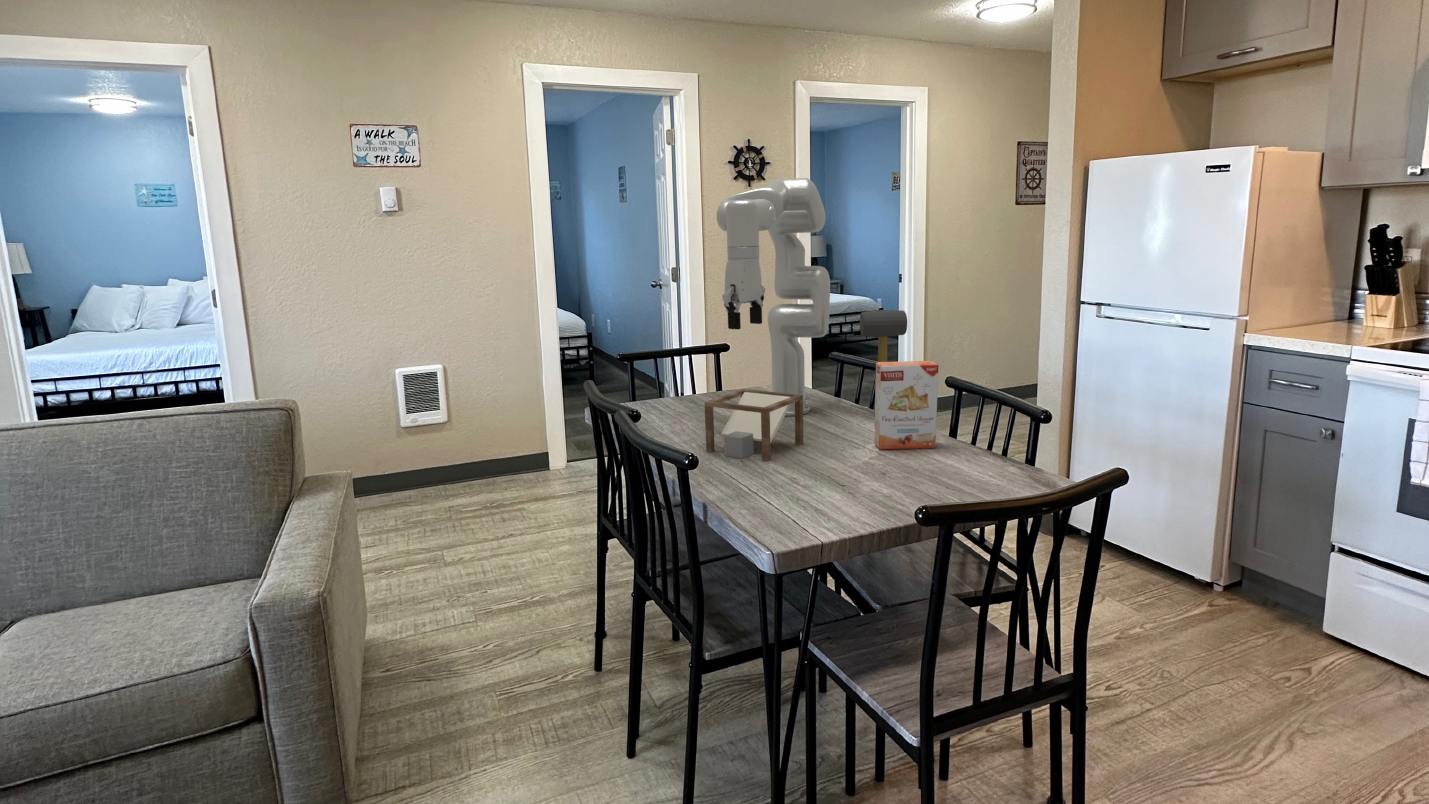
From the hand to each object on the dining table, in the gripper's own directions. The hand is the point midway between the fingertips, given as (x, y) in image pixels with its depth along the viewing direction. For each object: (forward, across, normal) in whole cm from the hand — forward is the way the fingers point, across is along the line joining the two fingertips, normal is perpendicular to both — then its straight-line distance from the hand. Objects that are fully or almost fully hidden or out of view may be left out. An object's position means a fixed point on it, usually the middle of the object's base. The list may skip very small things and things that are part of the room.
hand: (745, 326), depth 195 cm
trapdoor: (+23, -3, +1) cm, 23 cm away
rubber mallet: (+31, -47, +15) cm, 59 cm away
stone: (+28, +4, +1) cm, 28 cm away
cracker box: (+31, -19, +33) cm, 49 cm away
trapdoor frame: (+31, -1, +1) cm, 31 cm away
